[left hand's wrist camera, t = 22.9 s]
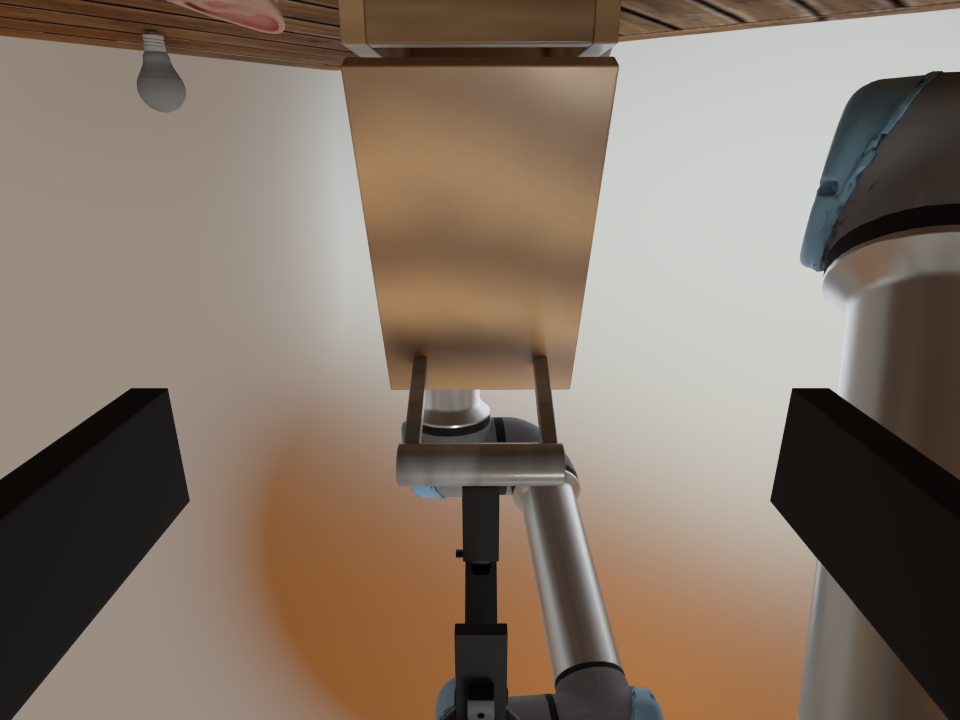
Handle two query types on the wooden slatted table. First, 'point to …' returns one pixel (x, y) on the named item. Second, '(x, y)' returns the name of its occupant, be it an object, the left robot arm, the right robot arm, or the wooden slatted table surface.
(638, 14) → the wooden slatted table surface
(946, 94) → the left robot arm
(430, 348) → the lid
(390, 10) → the chest
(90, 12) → the wooden slatted table surface
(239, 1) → the anatomical model
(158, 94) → the light bulb
